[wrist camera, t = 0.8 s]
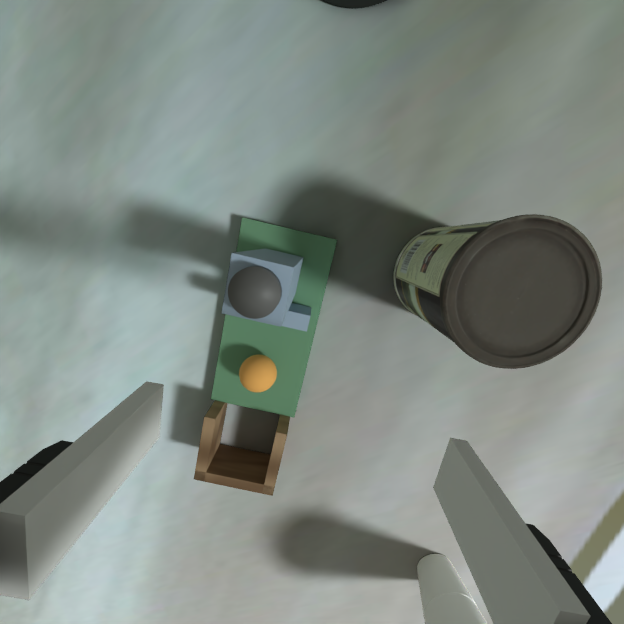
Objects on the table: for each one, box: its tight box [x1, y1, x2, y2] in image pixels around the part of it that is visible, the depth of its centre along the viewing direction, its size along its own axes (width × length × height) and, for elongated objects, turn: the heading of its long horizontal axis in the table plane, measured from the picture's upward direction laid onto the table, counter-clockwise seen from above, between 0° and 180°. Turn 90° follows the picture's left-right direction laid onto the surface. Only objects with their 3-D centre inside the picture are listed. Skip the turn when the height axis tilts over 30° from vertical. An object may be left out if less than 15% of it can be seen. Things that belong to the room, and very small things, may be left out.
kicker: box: [222, 248, 311, 332], centre depth 26 cm, size 7×8×14 cm
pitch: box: [211, 217, 337, 417], centre depth 35 cm, size 21×10×2 cm, turn 167°
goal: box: [194, 400, 290, 495], centre depth 36 cm, size 8×9×5 cm
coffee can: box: [393, 214, 602, 369], centre depth 27 cm, size 10×10×14 cm
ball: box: [239, 355, 277, 392], centre depth 33 cm, size 4×4×4 cm
